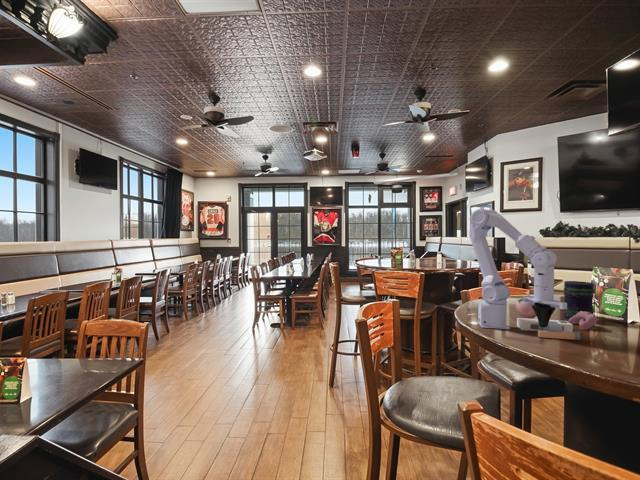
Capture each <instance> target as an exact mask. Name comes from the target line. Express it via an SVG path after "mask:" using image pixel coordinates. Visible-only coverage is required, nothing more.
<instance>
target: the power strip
mask: <svg viewBox="0 0 640 480" xmlns="http://www.w3.org/2000/svg"><path fill="white" fill-rule="evenodd" d="M549 321H554V322H557V323H558V324H559V325H561V326H562V332H571V333H573V331H574V324H571V323H569V322H568V320H557V319H550V320H549ZM516 327H518V329H520V330H521V331H529V330H530V332H531V331H533V332H538V330H540V326H539V322H538V319H537V318H533V319H528V318H524V317H517V318H516Z"/></svg>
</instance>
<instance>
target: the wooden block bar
mask: <svg viewBox="0 0 640 480" xmlns="http://www.w3.org/2000/svg"><path fill="white" fill-rule="evenodd" d="M537 337H538V338H545V339H548V338H549V339H550V338H551V339H558V340H559V339H561V340H574V341H581V332H580V331H576V330H575V331H574V330H573V333H571V332H556V331H540V330H538V331H537Z"/></svg>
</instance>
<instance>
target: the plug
mask: <svg viewBox="0 0 640 480" xmlns="http://www.w3.org/2000/svg"><path fill="white" fill-rule="evenodd" d="M540 331H556V332H562V326H561V325H559V324H558V323H557V322H554V321H549V323H548V326H547V327H540Z"/></svg>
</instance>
